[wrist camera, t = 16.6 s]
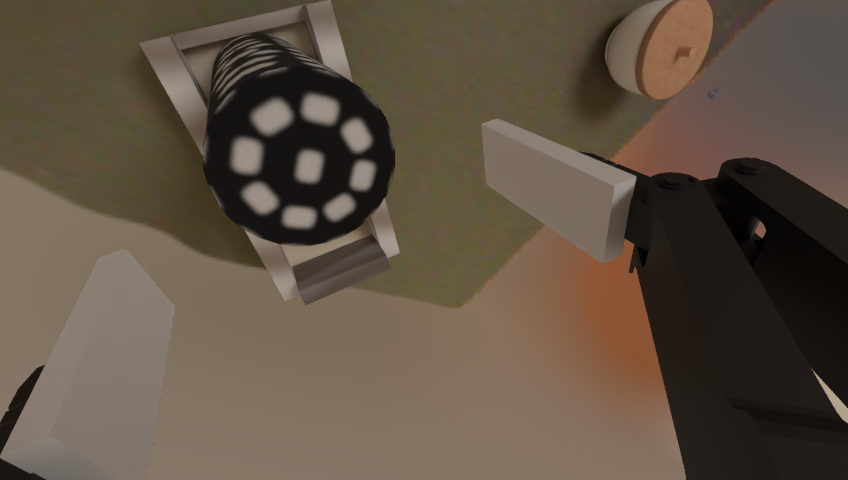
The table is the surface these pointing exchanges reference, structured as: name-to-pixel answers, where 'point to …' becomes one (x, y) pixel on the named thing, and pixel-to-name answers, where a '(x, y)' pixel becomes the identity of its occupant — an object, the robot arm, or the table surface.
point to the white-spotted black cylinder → (292, 144)
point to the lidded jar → (659, 46)
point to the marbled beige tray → (189, 92)
